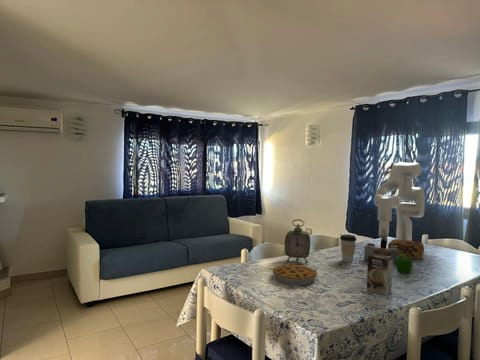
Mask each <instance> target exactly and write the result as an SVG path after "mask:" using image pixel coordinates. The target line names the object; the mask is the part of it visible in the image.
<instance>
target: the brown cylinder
mask: <svg viewBox="0 0 480 360" xmlns="http://www.w3.org/2000/svg"><path fill="white" fill-rule="evenodd" d="M390 253H391V249H388V247H386V248H381V247H378V246H375V247H374V254H379V255H383V256H388V257H390ZM398 257H399V256H398V250H396V258H398Z"/></svg>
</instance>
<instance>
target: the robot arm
mask: <svg viewBox="0 0 480 360" xmlns="http://www.w3.org/2000/svg"><path fill="white" fill-rule="evenodd" d="M421 173H422V165H421V164H420V163H418V162H396V163H394V164H393V165H392V168H391V170H390V173H389V176H388V179H387V181H386V182H384V183H383V184H381V185H380V186H379V187H378V188H377V189H376V192H375V195H374V199H373V202H374V205H375V206H376V207H377V221H379V223H378V225H379V226H378V237H379V238H380V245H379V246H380V247H379V248H387V247H388V237H389V231H390V222H392V218H393V217H392V216H393V212H392V211H393V209H395V211H396V238H395V239H399V240H408V241H412V240H413V239H412V237H413V236H412V233H413V222H412V220H411V217H412V218H423V217H424V215H425V208H426V207H425V203H426V202H425V198H426V197H425V195H426V193H425V190H424V189H423V188H421V187H414V186H413V178H417V177H418V176H420V175H421ZM395 190H398V192H397V193H398V196H396V195H389V194H386V193H388V192H392V191H395ZM400 200H401V201H402V202H401V201H400ZM406 201H407V202H406Z"/></svg>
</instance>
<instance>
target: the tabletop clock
mask: <svg viewBox="0 0 480 360" xmlns="http://www.w3.org/2000/svg"><path fill="white" fill-rule="evenodd" d="M297 221H300V222H302V223H303V224H301V225H300V224H299V223H297V225H296V224H294V222H297ZM291 222H292V223H291V224H292V225H293V226H294V229H293V230H288V231H287V233H286V235H285V238H284V253H285V256H287V257H288V258H286V262H287V263H289V262H290V259H291V258H293V259H294V258H295V260H296V261H297V262H298V261H299V260H300V259H304V263H305V264H308V263H309V262H308V260H307V259H306V258H308V257H309V256H310V253H311V252H310V251H311V235H310V233H309V232H308V231H305V230H303V228H302V227H303V226H304V225H305V221H303V220H302V219H297V218H296V219H293V220H292V221H291Z"/></svg>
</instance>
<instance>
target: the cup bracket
mask: <svg viewBox="0 0 480 360" xmlns="http://www.w3.org/2000/svg"><path fill="white" fill-rule="evenodd" d="M374 247H376V243H371V242H365V245H364V250H363V251H364V253H363V256H364V257H363V261H364V262H368V255H371V254H374Z"/></svg>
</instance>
